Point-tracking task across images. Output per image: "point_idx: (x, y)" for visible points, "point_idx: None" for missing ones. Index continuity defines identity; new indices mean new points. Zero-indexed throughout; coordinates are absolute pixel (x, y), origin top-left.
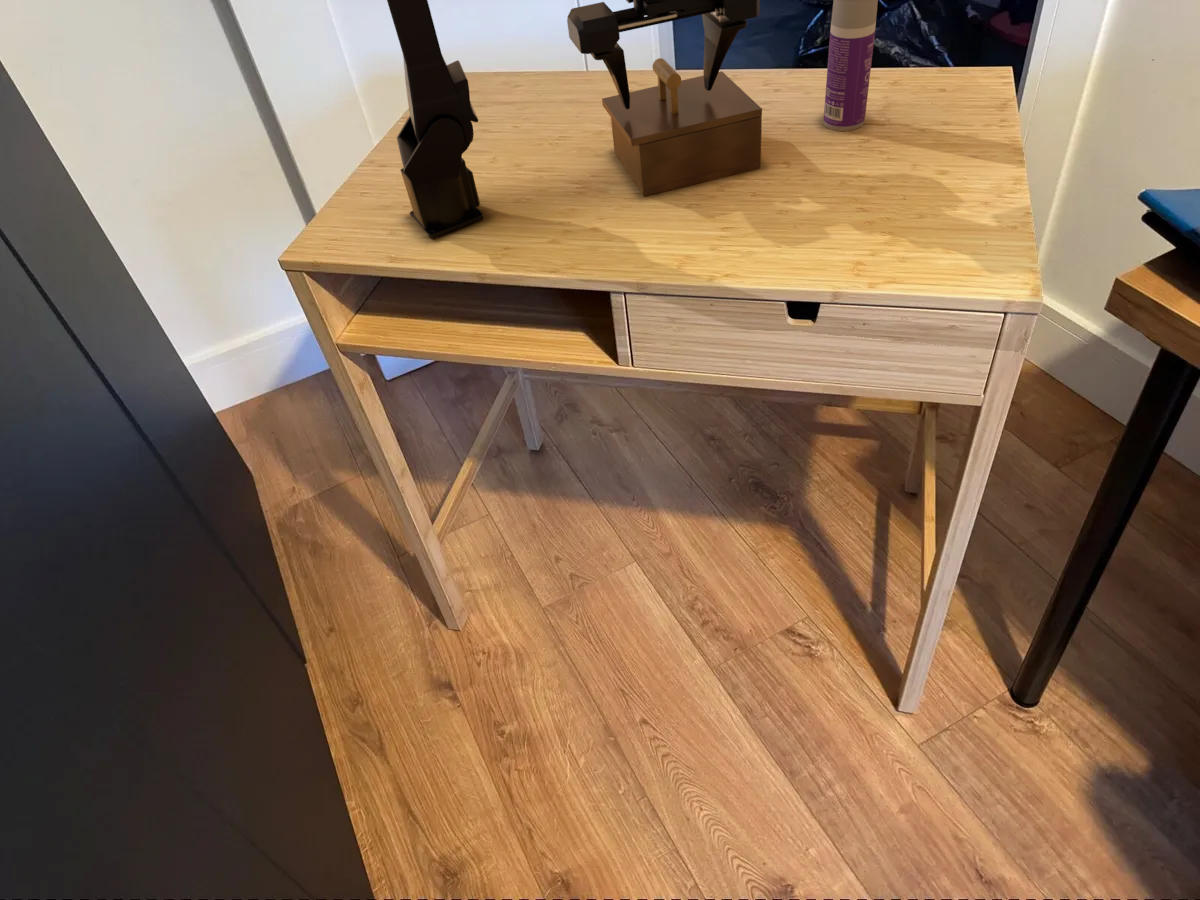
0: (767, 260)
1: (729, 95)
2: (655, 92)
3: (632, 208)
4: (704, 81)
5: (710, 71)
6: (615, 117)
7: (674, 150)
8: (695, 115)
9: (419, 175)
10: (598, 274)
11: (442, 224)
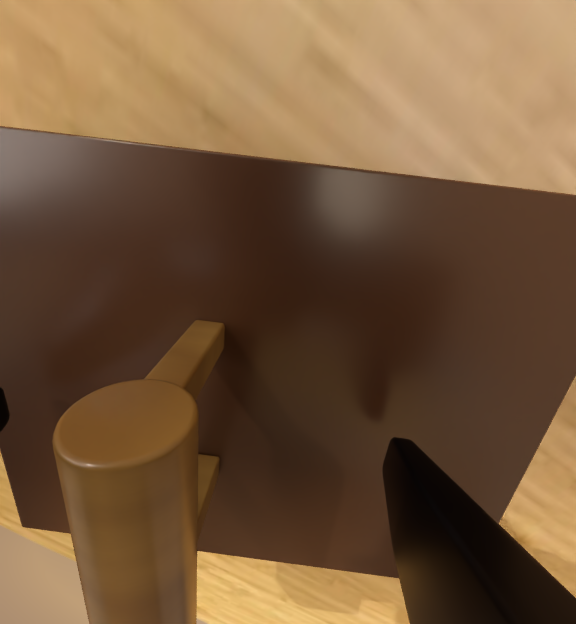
0: (255, 610)
1: (458, 466)
2: (204, 242)
3: None
4: (400, 459)
5: (407, 606)
6: None
7: None
8: (263, 515)
9: None
10: (31, 537)
11: None
